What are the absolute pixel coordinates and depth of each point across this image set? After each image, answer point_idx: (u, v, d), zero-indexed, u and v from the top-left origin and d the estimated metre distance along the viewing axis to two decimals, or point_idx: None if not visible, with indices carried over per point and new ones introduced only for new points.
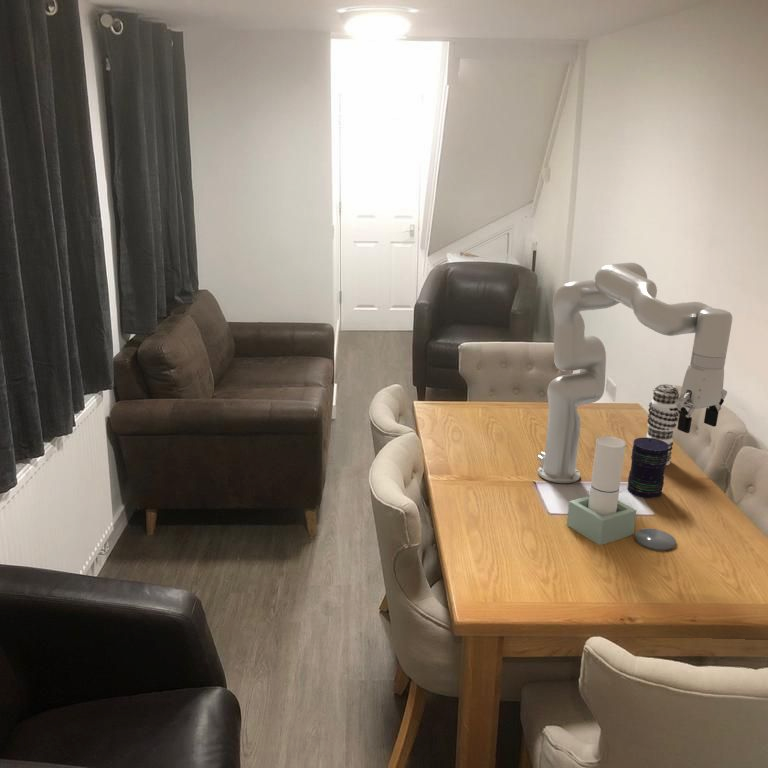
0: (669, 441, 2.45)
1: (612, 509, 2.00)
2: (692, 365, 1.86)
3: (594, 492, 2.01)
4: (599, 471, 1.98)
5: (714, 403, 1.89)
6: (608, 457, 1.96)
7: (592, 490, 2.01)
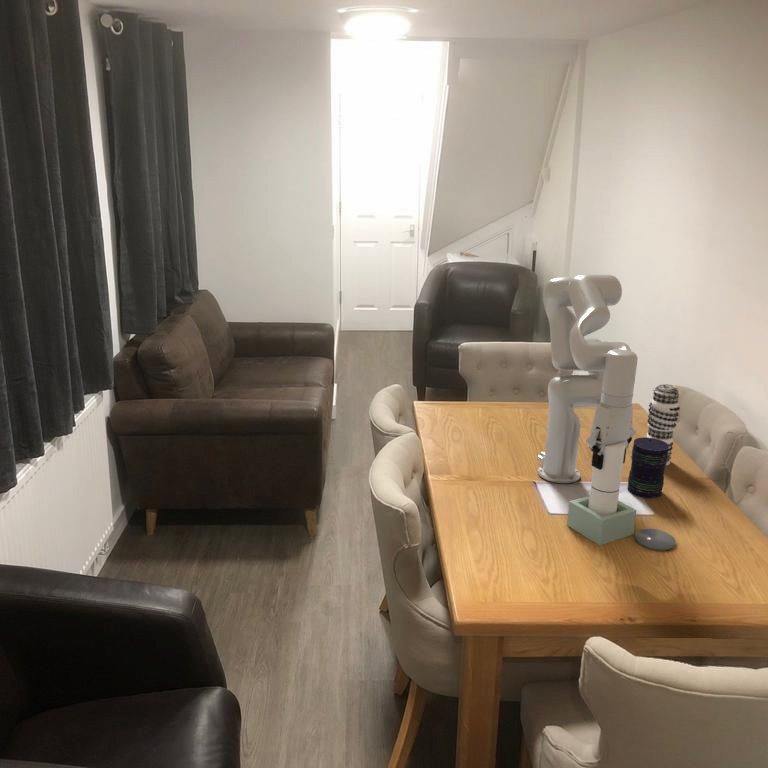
0: (669, 441, 2.45)
1: (612, 509, 2.00)
2: (601, 403, 1.94)
3: (594, 492, 2.01)
4: (599, 471, 1.98)
5: (624, 439, 1.97)
6: (608, 457, 1.96)
7: (592, 490, 2.01)
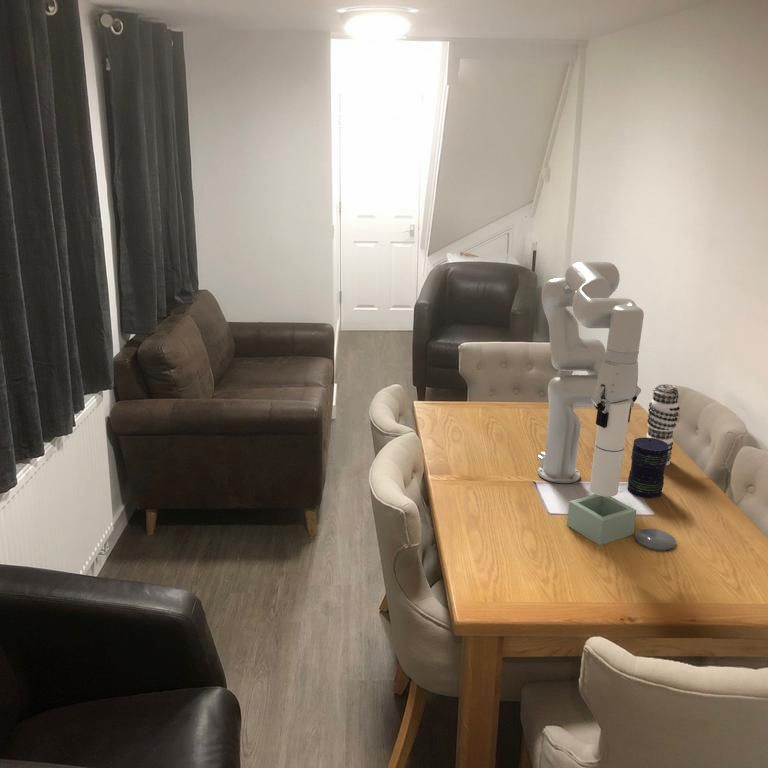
0: (669, 441, 2.45)
1: (616, 468, 1.98)
2: (606, 360, 1.91)
3: (598, 451, 1.98)
4: (603, 430, 1.95)
5: (629, 397, 1.94)
6: (613, 415, 1.93)
7: (596, 449, 1.98)
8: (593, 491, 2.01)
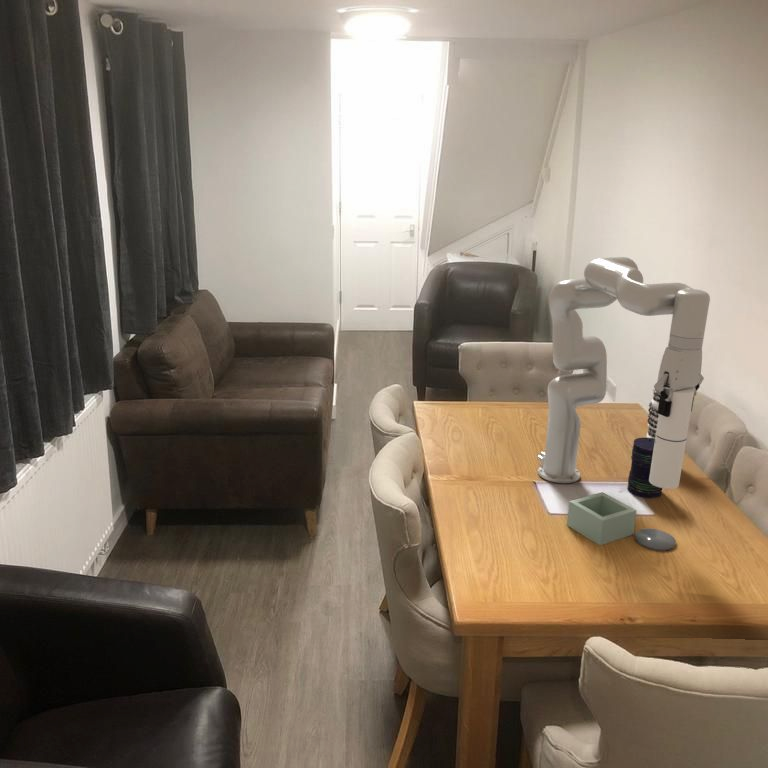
0: None
1: (679, 459, 1.91)
2: (670, 346, 1.84)
3: (660, 442, 1.91)
4: (666, 419, 1.88)
5: (692, 385, 1.87)
6: (676, 403, 1.86)
7: (657, 440, 1.91)
8: (653, 483, 1.94)
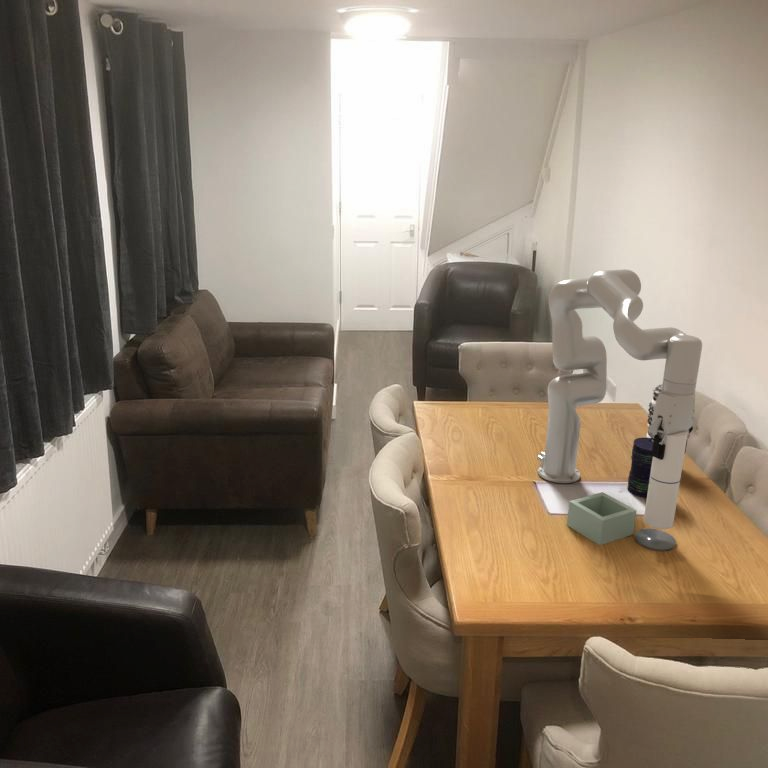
0: None
1: (673, 500, 1.94)
2: (663, 391, 1.88)
3: (654, 483, 1.94)
4: (660, 461, 1.92)
5: (685, 428, 1.91)
6: (670, 446, 1.89)
7: (652, 481, 1.95)
8: (648, 523, 1.98)
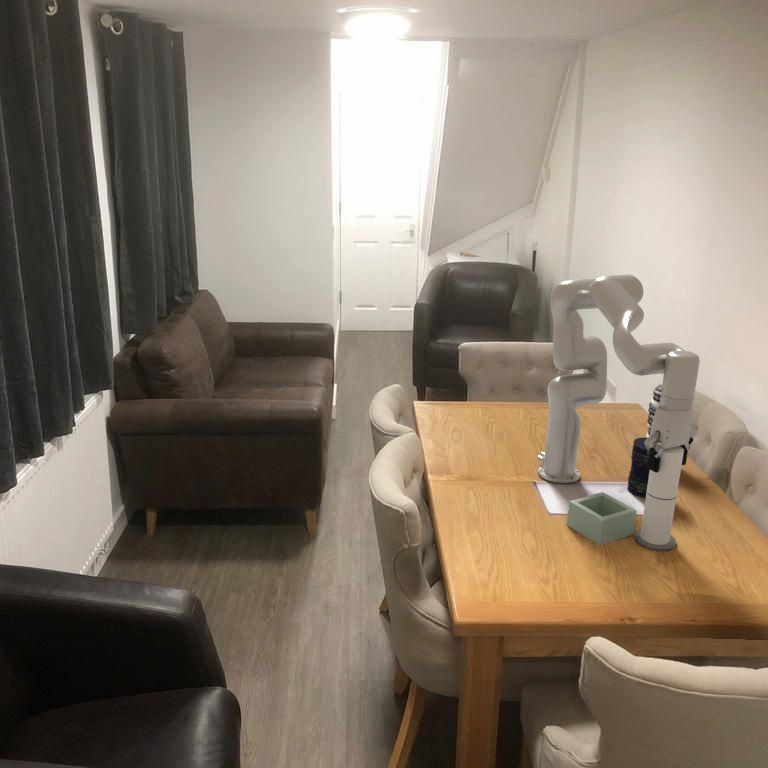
0: None
1: (669, 516, 1.96)
2: (661, 406, 1.89)
3: (650, 499, 1.96)
4: (656, 478, 1.93)
5: (683, 443, 1.92)
6: (666, 463, 1.91)
7: (648, 497, 1.96)
8: (645, 539, 1.99)
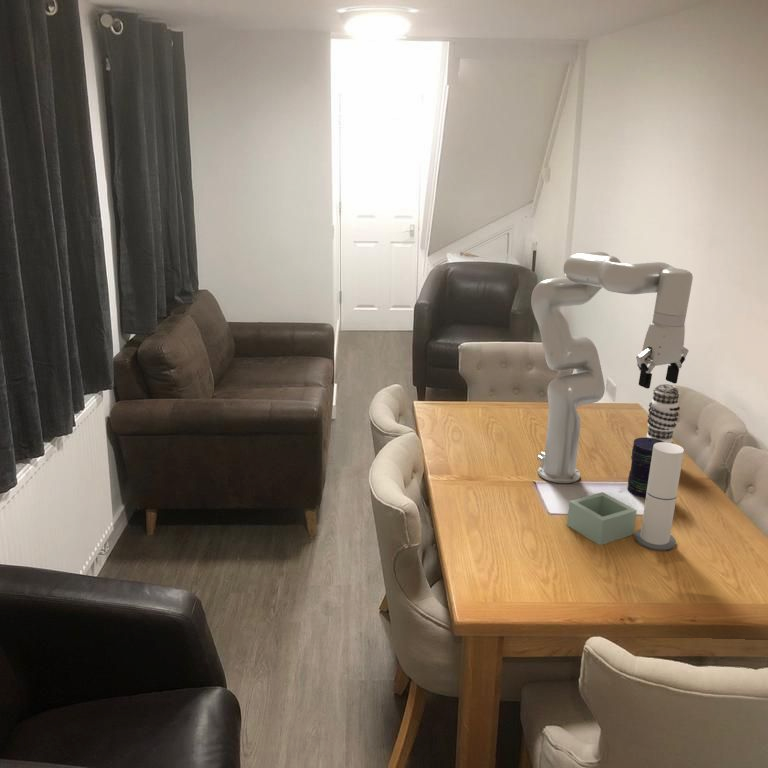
0: (669, 441, 2.45)
1: (669, 516, 1.96)
2: (653, 323, 1.93)
3: (650, 499, 1.96)
4: (656, 478, 1.93)
5: (674, 360, 1.96)
6: (666, 463, 1.91)
7: (648, 497, 1.96)
8: (645, 539, 1.99)
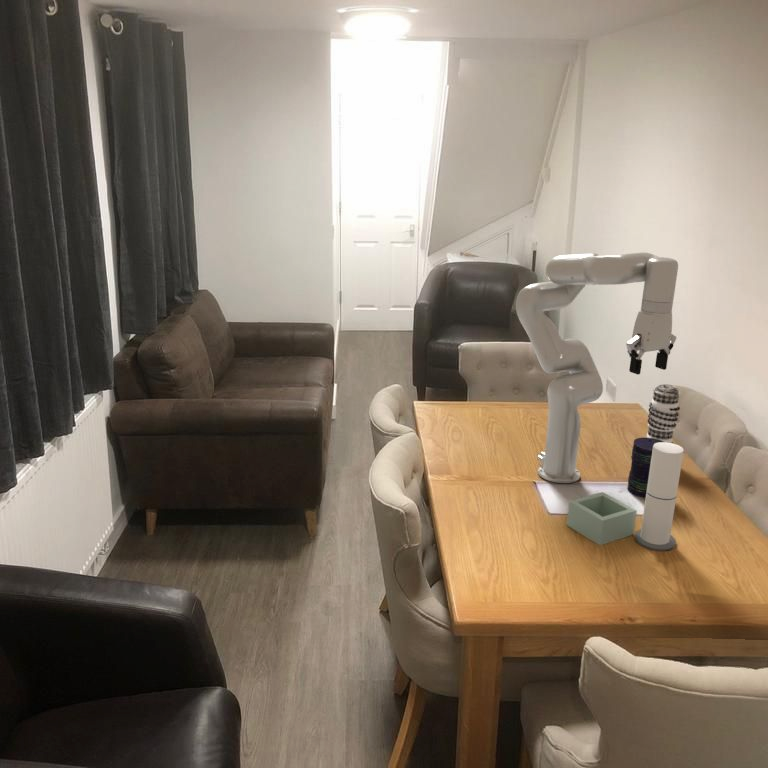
0: (669, 441, 2.45)
1: (669, 516, 1.96)
2: (642, 310, 2.00)
3: (650, 499, 1.96)
4: (656, 478, 1.93)
5: (663, 347, 2.03)
6: (666, 463, 1.91)
7: (648, 497, 1.96)
8: (645, 539, 1.99)
